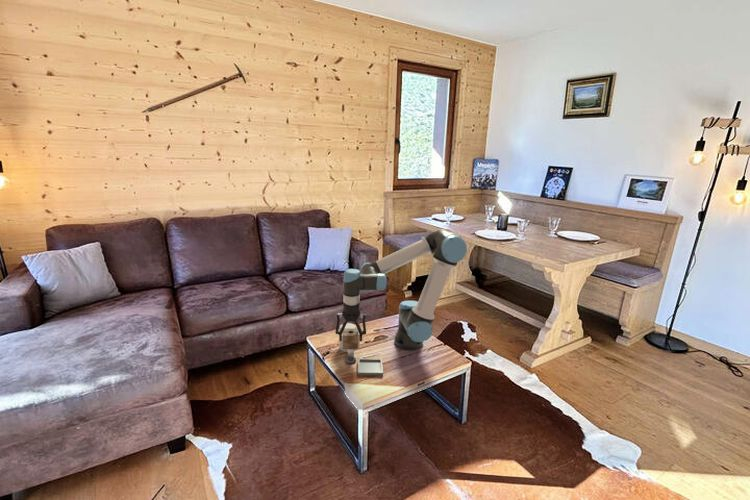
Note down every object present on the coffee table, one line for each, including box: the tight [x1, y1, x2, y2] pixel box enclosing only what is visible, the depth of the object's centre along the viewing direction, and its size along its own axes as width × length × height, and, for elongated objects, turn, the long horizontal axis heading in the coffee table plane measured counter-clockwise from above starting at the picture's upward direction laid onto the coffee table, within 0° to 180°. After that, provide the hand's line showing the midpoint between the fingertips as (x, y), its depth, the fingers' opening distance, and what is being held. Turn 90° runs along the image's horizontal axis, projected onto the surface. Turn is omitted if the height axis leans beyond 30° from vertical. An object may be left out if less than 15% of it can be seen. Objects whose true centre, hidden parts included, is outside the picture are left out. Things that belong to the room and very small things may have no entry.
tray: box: [357, 358, 384, 377], centre depth 176 cm, size 11×11×2 cm
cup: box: [339, 322, 357, 353], centre depth 192 cm, size 8×8×12 cm
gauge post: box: [345, 349, 357, 365], centre depth 181 cm, size 5×5×8 cm
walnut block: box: [343, 328, 359, 350], centre depth 178 cm, size 7×7×7 cm
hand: (350, 346), depth 180 cm, fingers closed on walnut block, 7 cm apart
